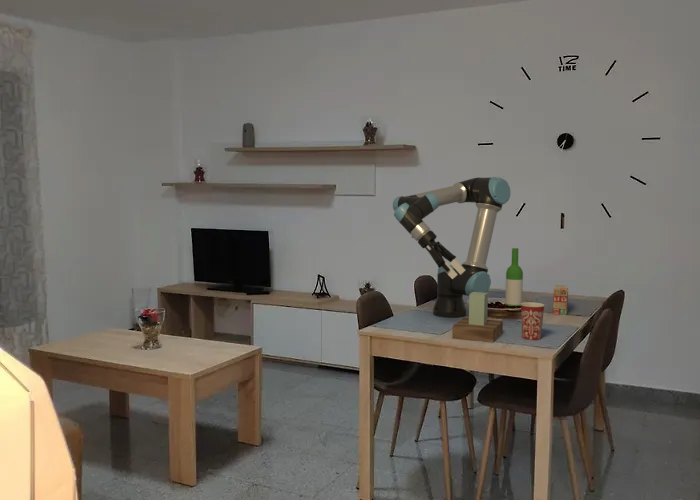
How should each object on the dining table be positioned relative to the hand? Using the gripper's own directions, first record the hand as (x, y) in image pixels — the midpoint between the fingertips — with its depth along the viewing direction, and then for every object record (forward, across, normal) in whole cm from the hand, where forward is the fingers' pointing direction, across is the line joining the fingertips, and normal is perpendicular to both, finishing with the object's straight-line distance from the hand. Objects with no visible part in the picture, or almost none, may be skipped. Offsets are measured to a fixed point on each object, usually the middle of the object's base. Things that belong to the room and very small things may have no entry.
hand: (459, 274), depth 263 cm
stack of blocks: (+41, -69, +6) cm, 80 cm away
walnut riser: (+23, 0, -11) cm, 25 cm away
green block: (+19, 0, -8) cm, 21 cm away
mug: (+37, -6, +3) cm, 38 cm away
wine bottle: (+26, -58, -8) cm, 65 cm away
